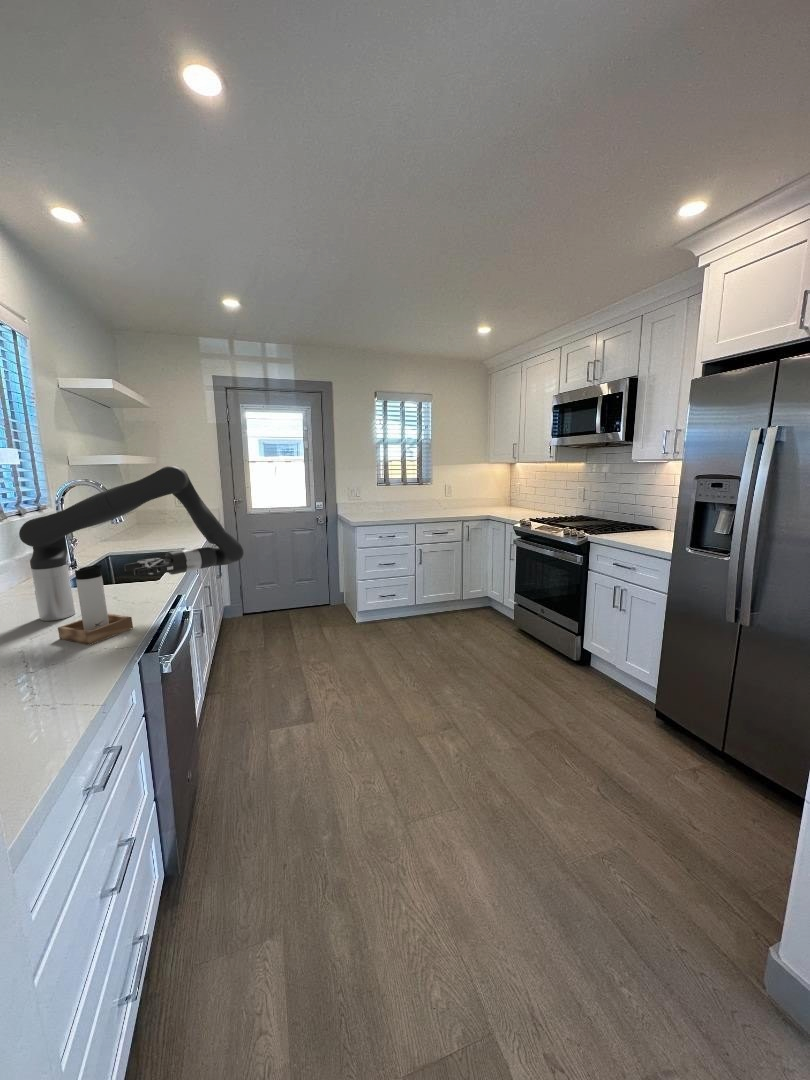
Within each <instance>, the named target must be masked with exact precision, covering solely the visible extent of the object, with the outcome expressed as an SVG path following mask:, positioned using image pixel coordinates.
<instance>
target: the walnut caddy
mask: <svg viewBox="0 0 810 1080" xmlns="http://www.w3.org/2000/svg"><path fill="white" fill-rule="evenodd" d="M108 620H109V624H108V625H105V626H102V627H99V628H97V629H94V630H91V631H85V630H84V628H83V621H82V619H79V620H76V621H73V622H71V623H67V624H65V625H62V626H58V627H57V631H58V637H59V640H63V641H69V642H73V643H78V642H79V644H83V643H84V645H88V644H89V645H90V644H91V645H93V644H95V642H96V643H98V642H101V641H103V639H104V640H106V639H109V638H111V637H114V636H116V635H119V634H122V633H124V632H126V631H129V630H132V629H133V628H134V625H133V618H132V616H126V615H121V614H120V615H119V614H115V613H108ZM131 628H132V629H131ZM118 633H119V634H118ZM113 635H114V636H113ZM108 637H109V638H108ZM100 640H101V641H100ZM97 641H98V642H97ZM92 643H93V644H92ZM89 645H88V646H89Z"/></svg>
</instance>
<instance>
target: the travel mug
mask: <svg viewBox="0 0 810 1080" xmlns="http://www.w3.org/2000/svg"><path fill="white" fill-rule="evenodd" d="M102 566H103V565H102V564H95V565H93V564H92V565H88V566H83V567H80V568H79V569H77V570H76V569H75V570H74V575H75V581H76V582H75V583H76V589H77V595H78V600H79V607H80V615H81V620H82V621H83V628H84V630H85V631H91V630H94V629H97V628H99V627H102V626H105V625H108V624H109V620H108V614H109V613H108V607H107V601H106V600H107V599H106V593H105V587H104V580H103V575H102Z"/></svg>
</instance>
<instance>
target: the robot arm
mask: <svg viewBox="0 0 810 1080" xmlns="http://www.w3.org/2000/svg"><path fill="white" fill-rule="evenodd" d="M168 495H173V496H174V497H175V498H176V499H177V500H178V501H179V502H180V503H181V505H182V506H183V507H184V509H185V510H186V511H187V513H188V515H189V516H190V518H191V520H192V521H193V523H194V525H195V526H196V528H197V530H199V532H200V533H201V535H202V536H203V537H204V538H205V540H206V541H207V542H208V543H210V544H213V545H215V546H217V547H215V546H214V547H208V546H207V547H205V546H204V547H200V548H199V547H198V548H187V549H180V550H175V551H169V552H166V553H165V555H164V558H163V559H162V558H161V557H152V558H145V559H138V560H137V562H131V563H125V564H124V565H123V566H124V567H123V568H124V571H125V572H132V571H133V575H134V576H135V577H137V576H144V575H153V576H157V575H161V574H162V575H163V574H167V573H168V574H169V575H172V576H173V575H177V574H178V575H179V574H182V573H189V572H194V571H197V570H200V569H205V568H212V567H216V566H217V567H218V566H225V565H226V566H227V565H230V564H233V563H236V562H239V561H240V560H242V559H243V557H244V548H243V546H242V545H241V543H240V542H239V541H238V540H237V539H236V537H233V536H232V535H231V534H230V533H229V532H228V531H226V530H225V528H224V527H223V525H222V524H221V523H220V521H219V520H218V518H217V517H216V516H215V515H214V513H212V511H211V510H210V509H209V507H208V506H207V505H206V504H205V502H204V501H203V500H202V498H201V496H200V495H199V494H198V492H197V491H196V488H195V487H194V485H193V483H192V481H191V479H190V477H189V475H188V473H187V471H186V470H185V469H183V468H181V467H179V466H175V465H167V466H163V467H162V468H159V469H158V470H156V471H155V472H153V473H151V474H149V475H147V476H145V477H143V478H140V479H139V480H135V481H132V482H128V483H125V484H122V485H117V486H115V487H111V488H108V489H106V490H104V491H101V492H98V493H96V494H93V495H91V496H89V497H86V498H85V499H82V500H81V501H79V502H76V503H75V504H72V505H71V506H69V507H67V508H65V509H62V510H60V511H57V512H55V513H51V514H47V515H44V516H43V515H42V516H40V517H35V518H32V519H29V520H27V521H25V522H24V523H23V524H22V525H21V527H20V528H19V531H18V532H19V533H18V537H19V539H20V541H21V542H22V543H23V544H25V545H27V546H29V547H32V556H31V557H30V559H29V565H30V569H31V576H32V579H33V587H34V595H35V600H36V607H37V611H38V617H39V618H40V621H42V622H43V621H45V622H49V621H57V620H58V621H59V620H63V619H66V618H69V617H72V616H74V615H75V614H76V609H75V603H74V596H73V591H72V586H71V580H70V573H69V568H68V563H67V561H68V560H67V557H68V547H67V538H66V536H67V535H70V534H72V533H74V532H77V531H80V530H83V529H86V528H91V527H94V526H97V525H100V524H103V523H106V522H110V521H111V520H115V519H117V518H119V517H122V516H125V515H126V514H129V513H130V512H132V511H134V510H136V509H138V508H139V507H141V506H143V505H144V504H146V503H149V502H150V501H153V500H154V499H159V498H161V497H166V496H168ZM143 564H144V565H143Z"/></svg>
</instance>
